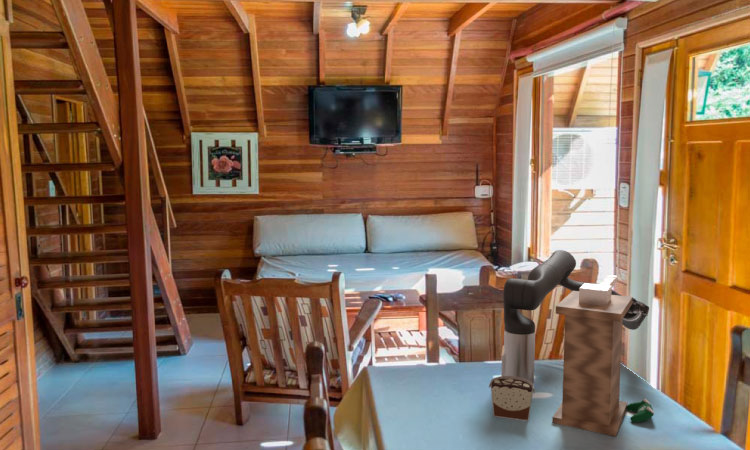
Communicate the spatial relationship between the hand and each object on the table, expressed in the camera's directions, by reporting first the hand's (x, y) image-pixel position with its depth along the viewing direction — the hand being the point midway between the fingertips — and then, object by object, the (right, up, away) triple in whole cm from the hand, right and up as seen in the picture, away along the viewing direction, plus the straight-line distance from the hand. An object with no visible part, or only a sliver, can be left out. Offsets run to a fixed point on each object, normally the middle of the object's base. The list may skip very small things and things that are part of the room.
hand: (622, 302), depth 191 cm
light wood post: (-12, +5, -17) cm, 22 cm away
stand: (-18, -28, -24) cm, 41 cm away
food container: (-40, -28, -23) cm, 54 cm away
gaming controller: (-5, -28, -25) cm, 38 cm away
